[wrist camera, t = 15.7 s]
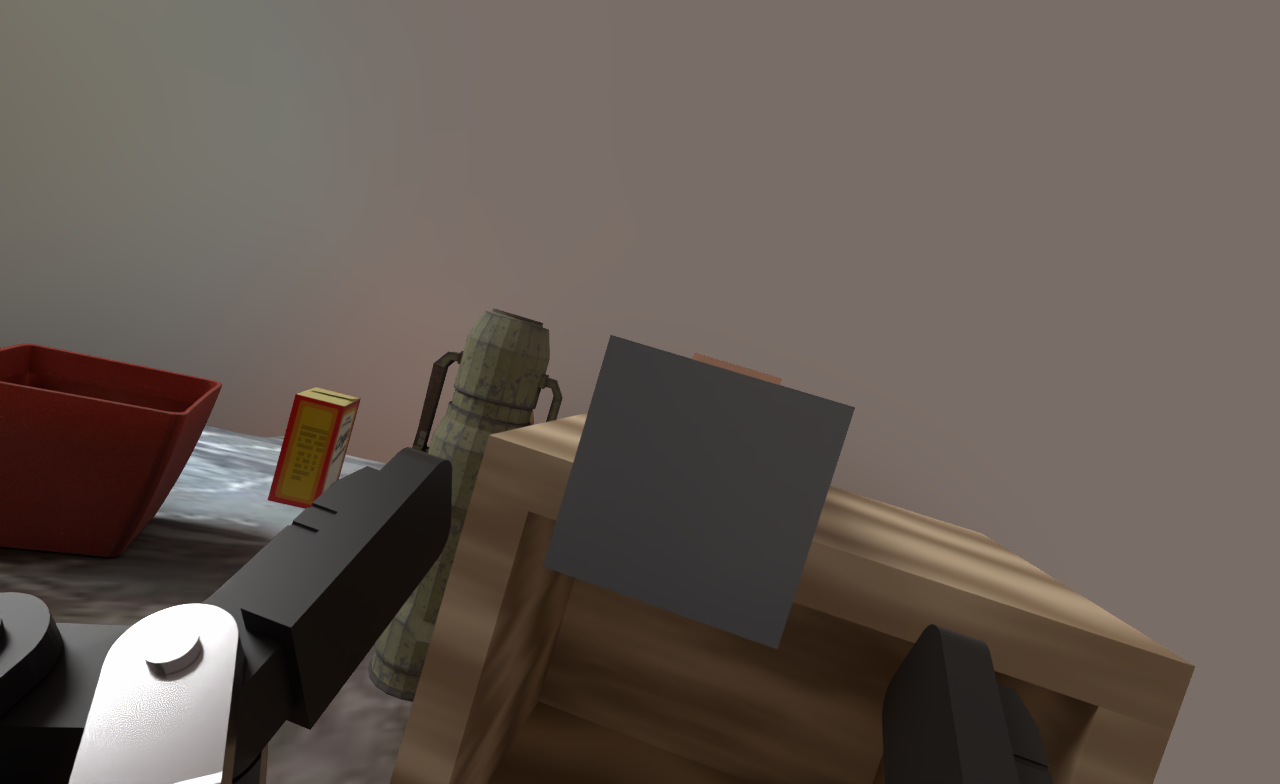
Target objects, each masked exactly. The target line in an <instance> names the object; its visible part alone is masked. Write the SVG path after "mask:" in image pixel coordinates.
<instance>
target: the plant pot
mask: <svg viewBox="0 0 1280 784" xmlns="http://www.w3.org/2000/svg"><path fill="white" fill-rule="evenodd" d="M221 387H222V384H221V383H220V382H217V381H213V380H209V379H203V378H198V377H194V376H189V375H184V374H179V373H174V372H169V371H165V370H160V369H154V368H150V367H144V366H139V365H135V364H130V363H125V362H120V361H114V360H110V359H105V358H101V357H96V356H91V355H85V354H81V353H75V352H71V351H66V350H60V349H56V348H51V347H45V346H41V345H35V344H18V345H13V346H9V347H4V348H0V547H9V548H20V549H30V550H41V551H51V552H61V553H72V554H82V555H92V556H103V557H114V556H118V555H120V554H122V553H123V552H124V551H125V549H126V548H127V547H128V546H129V545H130V544H131V542H132V541H133V540H134V539H135V538H136V537H137V535H138V534H139V533H140V532H141V531H142V530H143V529H144V527H145V526H146V525H147V524H148V523H149V521H150V520H151V519H152V518H153V517H154V516H155V514H156V513H157V511H158V510H159V508H160V507H161V505H162V504H163V502H164V501H165V499H166V497H167V496H168V494H169V492H170V491H171V489H172V487H173V486H174V484H175V482H176V481H177V479H178V478H179V476H180V474H181V472H182V470H183V469H184V467H185V465H186V463H187V461H188V459H189V458H190V456H191V454H192V452H193V450H194V448H195V446H196V444H197V442H198V440H199V438H200V436H201V434H202V431H203V429H204V427H205V425H206V423H207V420H208V418H209V416H210V413H211V411H212V409H213V407H214V404H215V402H216V399H217V397H218V394H219V392H220V389H221Z"/></svg>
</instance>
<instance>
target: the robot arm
mask: <svg viewBox="0 0 1280 784" xmlns="http://www.w3.org/2000/svg"><path fill="white" fill-rule="evenodd" d="M451 506H452V464H451V462H450V461H449V460H446V459H443V458H440V457H437V456H434V455H431V454H428V453H425V452H422V451H419V450H416V449H413V448H409V447H407V448H404V449H402V450H401V451H400V452H398V453H397V454H396V455H395V456H394V458H392V459H391V460H390V461H389V462H388V463H387V464H386V465H385V466H384V467H383V468H382V469H381V470H377V469H374V468H371V467H368V466H367V467H365V468H363V469H360V470H358V471H356V472H354V473H352V474H350V475H348V476H346V477H344V478H342V479H339V480H337V481H336V482H334V483H333V484H332V485H331V486H330V487H329V488H328V489H327V490H326V491H325V492H324V493H323V494H321V495H320V496H319V497H318V498H317V499H316V500H315V501H314V502H313V503H312V506H311V507H310V508H309V507H307V508H306V509H305V510H304V511H303V512H302V513H301V514H300V515H299V516H298V517H296V518H295V519H294V520H293V523H292V525H291V526H287V527H286V528H284V529H283V530H282V531H281V532H280V533H279V534H278V535H277V536H276V537H275V538H274V539H272V540H271V541H270V542H269V543H268V544H267V545H266V546H265V547H264V548H263V549H262V550H261V551H259V552H258V553H257V554H256V555H255V556H254V557H253V558H252V559H251V560H250V561H249V562H247V563H246V564H245V565H244V566H243V567H242V568H241V569H240V570H239V571H238V572H237V573H236V574H234V575H233V576H232V577H231V578H230V579H229V580H228V581H227V582H226V583H225V584H224V585H222V586H221V587H220V588H219V589H218V590H217V591H216V592H215V593H214V594H212V595H211V596H210V597H209V598H208V599H206V600H205V601H203V602H202V603H200V604H186V605H180V606H175V607H171V608H168V609H165V610H162V611H159V612H157V613H155V614H152V615H150V616H148V617H146V618H145V619H143V620H141V621H140V622H138V623H137V624H135V625H134V626H115V625H91V624H67V623H55V621H54V619H53V617H52V615H51V613H50V611H49V609H48V607H47V606H46V604H45V603H44V602H43V601H41V600H40V599H39V598H37V597H35V596H32V595H29V594H24V593H14V592H8V593H0V784H266V773H267V758H268V742H269V741H270V740H271V738H272V737H273V736H274V735H275V733H276V732H277V731H278V730H279V728H280V727H281V726H282V725H283V723H284V722H285V721H286V720H288V721H290V722H293V723H295V724H297V725H300V726H302V727H305V728H307V729H310V730H311V728H312V727H313V726H314V724H315V723H316V722H317V720H318V719H319V718H320V716H321V715H322V713H323V712H324V711H325V709H326V708H327V707H328V705H329V704H330V703H331V701H332V700H333V699H334V697H335V696H336V695H337V693H338V692H339V691H340V689H341V688H342V687H343V685H344V684H345V683H346V681H347V680H348V679H349V677H350V676H351V675H352V673H353V672H354V671H355V669H356V668H357V667H358V665H359V664H360V663H361V661H362V660H363V659H364V657H365V656H366V655H367V653H368V652H369V651H370V649H371V648H372V647H373V645H374V644H375V643H376V641H377V640H378V638H379V637H380V636H381V634H382V633H383V632H384V630H385V629H386V628H387V626H388V625H389V624H390V622H391V621H392V620H393V618H394V617H395V616H396V614H397V613H398V612H399V610H400V609H401V608H402V606H403V605H404V604H405V602H406V601H407V600H408V598H409V597H410V596H411V594H412V593H413V592H414V590H415V589H416V588H417V586H418V585H419V584H420V582H421V581H422V580H423V578H424V577H425V576H426V574H427V573H428V572H429V570H430V569H431V568H432V566H433V565H434V563H435V562H436V561H437V559H438V558H439V556H440V555H441V553H442V551H443V549H444V547H445V545H446V542H447V539H448V536H449V533H450V528H451ZM882 732H883V752H884V772H885V784H1053V780H1052V776H1051V774H1049V773H1048V767H1049V765H1048V761H1047V757H1046V754H1045V750H1044V746H1043V743H1042V739H1041V735H1040V731H1039V728H1038V726H1037V724H1036V723H1035V721H1034V720H1033V718H1032V716H1031V715H1030V713H1029V711H1028V710H1027V708H1026V707H1025V705H1024V703H1023V702H1022V700H1021V699H1020V697H1019V695H1018V694H1017V692H1016V690H1015V689H1012V688H1009V687H1006V686H1003V685H1000V684H997V680H996V676H995V671H994V667H993V663H992V658H991V654H990V650H989V648H988V646H987V644H986V643H985V642H984V641H982V640H979V639H976V638H973V637H970V636H967V635H964V634H961V633H958V632H955V631H952V630H949V629H946V628H943V627H940V626H937V625H934V624H930V625H929V626H927V627H926V628H925V629H924V631H923V632H922V634H921V635H920V637H919V638H918V640H917V641H916V643H915V644H914V646H913V647H912V649H911V650H910V652H909V653H908V655H907V656H906V658H905V659H904V661H903V662H902V664H901V665H900V667H899V668H898V670H897V671H896V673H895V674H894V676H893V677H892V679H891V681H890V683H889V685H888V688H887V691H886V694H885V698H884V703H883V710H882Z"/></svg>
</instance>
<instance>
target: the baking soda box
mask: <svg viewBox="0 0 1280 784" xmlns="http://www.w3.org/2000/svg"><path fill="white" fill-rule="evenodd" d="M359 403H360V398H357V397H354V396H349V395H346V394H342V393H338V392H334V391H330V390H327V389H323V388H319V387H316V388H313V389H310V390H307V391H304V392H301V393H298V394H296V395H295V399H294V403H293V407H292V410H291V414H290V418H289V422H288V426H287V429H286V434H285V437H284V441H283V444H282V448H281V452H280V456H279V459H278V463H277V467H276V471H275V474H274V478H273V482H272V486H271V490H270V493H269V497H268V500H270V501H274V502H279V503H283V504H288V505H292V506H297V507H301V508H307V507H309V508H310V507H311V506H312V503H313V502H314V501H315V500H316V499H317V498H318V497H319V496H320V495H321V494H323V493H324V492H325V491H326V490H327V489H328V488H329V487H330V486H331V485H332V484H333V483H334V482H336V481H337V480H339V476H340V473H341V469H342V465H343V462H344V458H345V454H346V451H347V447H348V443H349V440H350V436H351V432H352V429H353V425H354V421H355V417H356V414H357V410H358V406H359Z"/></svg>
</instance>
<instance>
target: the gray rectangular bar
mask: <svg viewBox="0 0 1280 784" xmlns="http://www.w3.org/2000/svg"><path fill="white" fill-rule="evenodd" d="M780 381H781V378H778V377H774V376H771V375H768V374H764V373H761V372H758V371H754V370H751V369H747V368H744V367H741V366H737V365H734V364H730V363H727V362H724V361H720V360H717V359H714V358H710V357H707V356H703V355H700V354H697V353H694V356H693V359H690V358H687V357H683V356H680V355H676V354H673V353H670V352H666V351H663V350H659V349H656V348H653V347H650V346H646V345H642V344H639V343H636V342H633V341H629V340H626V339H623V338H619V337H616V336H612V335H611V336H610V339H609V343H608V346H607V350H606V353H605V356H604V360H603V363H602V367H601V370H600V373H599V377H598V380H597V384H596V387H595V391H594V394H593V397H592V401H591V404H590V407H589V411H588V414H587V418H586V421H585V424H584V428H583V431H582V435H581V438H580V441H579V445H578V448H577V452H576V455H575V458H574V462H573V465H572V469H571V472H570V475H569V479H568V482H567V486H566V489H565V492H564V496H563V499H562V503H561V506H560V509H559V513H558V516H557V520H556V523H555V526H554V530H553V533H552V537H551V540H550V543H549V547H548V550H547V554H546V557H545V560H544V564H543V567H546V568H549V569H552V570H555V571H557V572H560V573H563V574H566V575H569V576H572V577H574V578H577V579H580V580H583V581H586V582H588V583H591V584H594V585H597V586H600V587H603V588H605V589H608V590H611V591H614V592H617V593H620V594H622V595H625V596H628V597H631V598H634V599H637V600H639V601H642V602H645V603H648V604H651V605H653V606H656V607H659V608H662V609H665V610H668V611H670V612H673V613H676V614H679V615H682V616H685V617H687V618H690V619H693V620H696V621H699V622H701V623H704V624H707V625H710V626H713V627H716V628H718V629H721V630H724V631H727V632H730V633H733V634H735V635H738V636H741V637H744V638H747V639H749V640H752V641H755V642H758V643H761V644H764V645H766V646H769V647H772V648H775V649H778V646H779V643H780V640H781V637H782V634H783V631H784V627H785V624H786V621H787V618H788V615H789V612H790V609H791V606H792V602H793V599H794V596H795V593H796V590H797V587H798V584H799V581H800V577H801V574H802V571H803V568H804V565H805V562H806V559H807V556H808V552H809V549H810V546H811V543H812V540H813V537H814V534H815V531H816V528H817V524H818V521H819V518H820V515H821V512H822V509H823V506H824V503H825V499H826V496H827V493H828V490H829V487H830V484H831V480H832V477H833V474H834V471H835V468H836V465H837V462H838V459H839V456H840V452H841V449H842V446H843V443H844V440H845V437H846V434H847V431H848V428H849V424H850V421H851V418H852V415H853V412H854V409H855V408H854V407H851V406H848V405H845V404H842V403H838V402H835V401H831V400H828V399H825V398H821V397H818V396H814V395H811V394H808V393H804V392H801V391H798V390H794V389H791V388H788V387H784V386H781V385H780Z"/></svg>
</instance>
